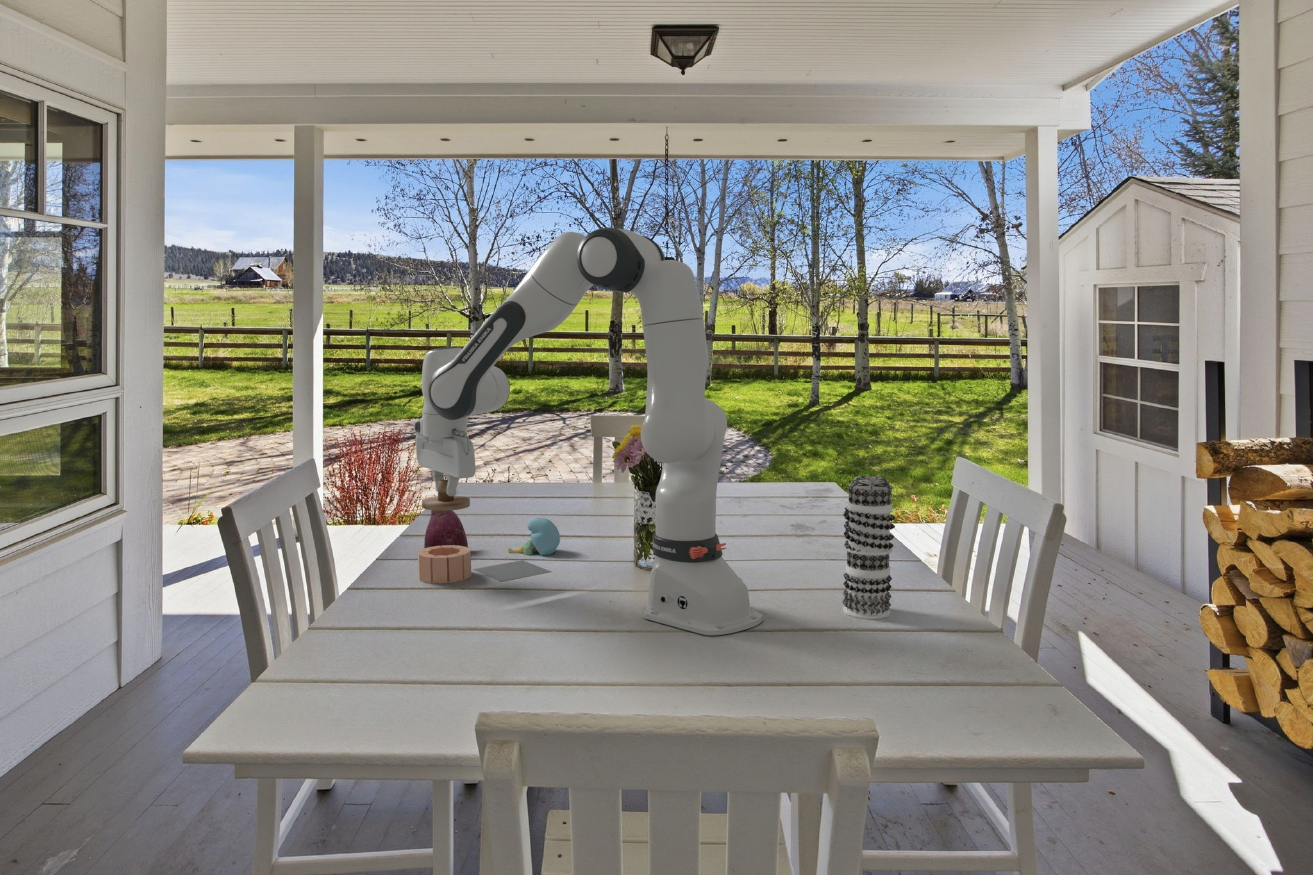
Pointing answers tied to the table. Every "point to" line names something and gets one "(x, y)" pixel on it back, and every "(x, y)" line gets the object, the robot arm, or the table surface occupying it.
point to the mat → (512, 570)
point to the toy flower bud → (540, 538)
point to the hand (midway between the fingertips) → (445, 493)
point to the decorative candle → (868, 548)
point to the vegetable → (445, 530)
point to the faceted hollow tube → (444, 564)
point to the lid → (445, 500)
